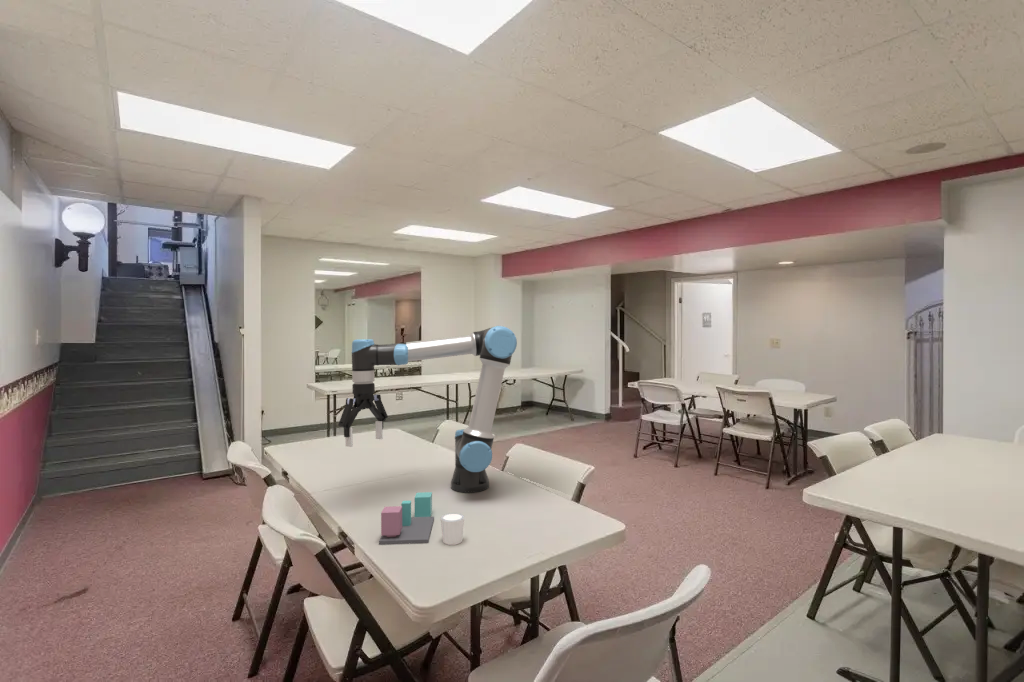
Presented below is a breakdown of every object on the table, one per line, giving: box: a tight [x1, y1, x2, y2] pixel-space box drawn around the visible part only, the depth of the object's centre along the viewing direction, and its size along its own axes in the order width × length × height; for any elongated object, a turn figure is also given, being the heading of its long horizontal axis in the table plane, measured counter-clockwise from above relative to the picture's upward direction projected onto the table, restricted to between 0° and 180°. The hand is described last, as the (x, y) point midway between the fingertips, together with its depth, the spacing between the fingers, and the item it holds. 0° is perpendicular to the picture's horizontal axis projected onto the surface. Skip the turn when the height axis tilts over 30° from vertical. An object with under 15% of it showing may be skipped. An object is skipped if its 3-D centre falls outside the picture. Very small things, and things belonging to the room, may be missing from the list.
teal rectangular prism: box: [414, 491, 433, 517], centre depth 161 cm, size 5×5×7 cm
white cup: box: [440, 512, 465, 546], centre depth 140 cm, size 7×7×7 cm
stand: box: [378, 500, 435, 546], centre depth 147 cm, size 14×18×9 cm
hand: (364, 442), depth 170 cm, fingers open, 13 cm apart
